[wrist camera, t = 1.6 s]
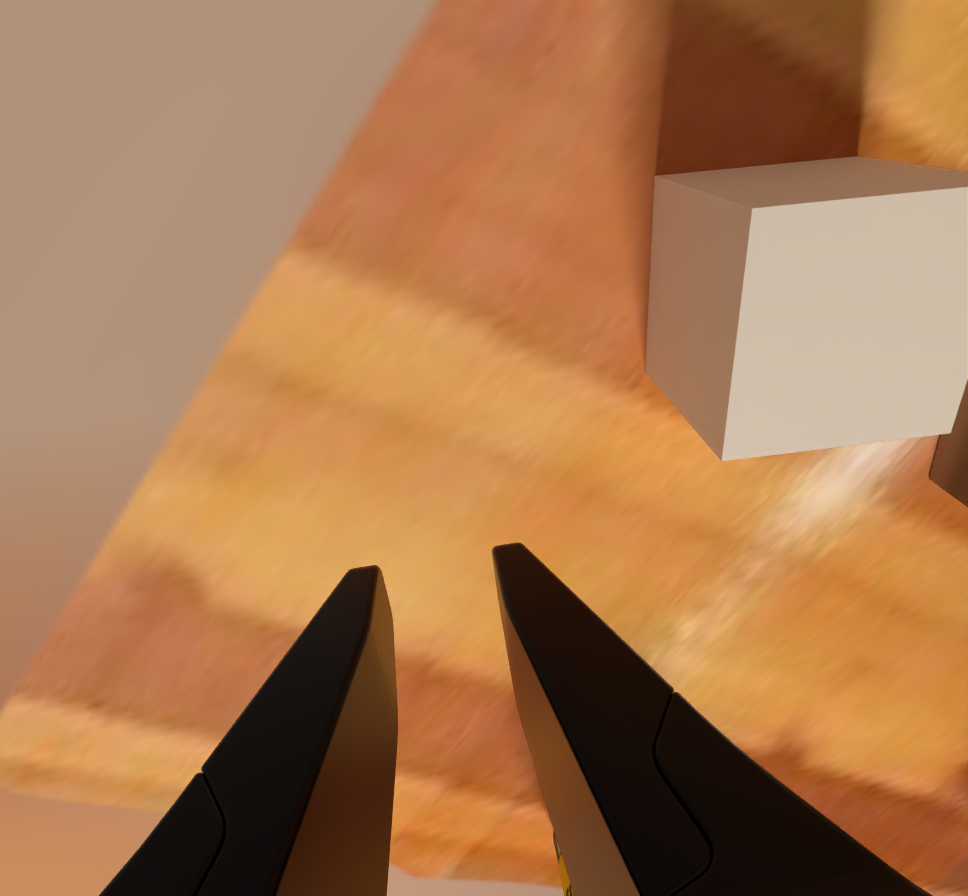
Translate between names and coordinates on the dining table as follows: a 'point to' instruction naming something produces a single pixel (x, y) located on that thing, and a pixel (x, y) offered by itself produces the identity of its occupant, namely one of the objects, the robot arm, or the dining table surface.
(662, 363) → the plain white cube
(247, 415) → the dining table surface
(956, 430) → the stop board
